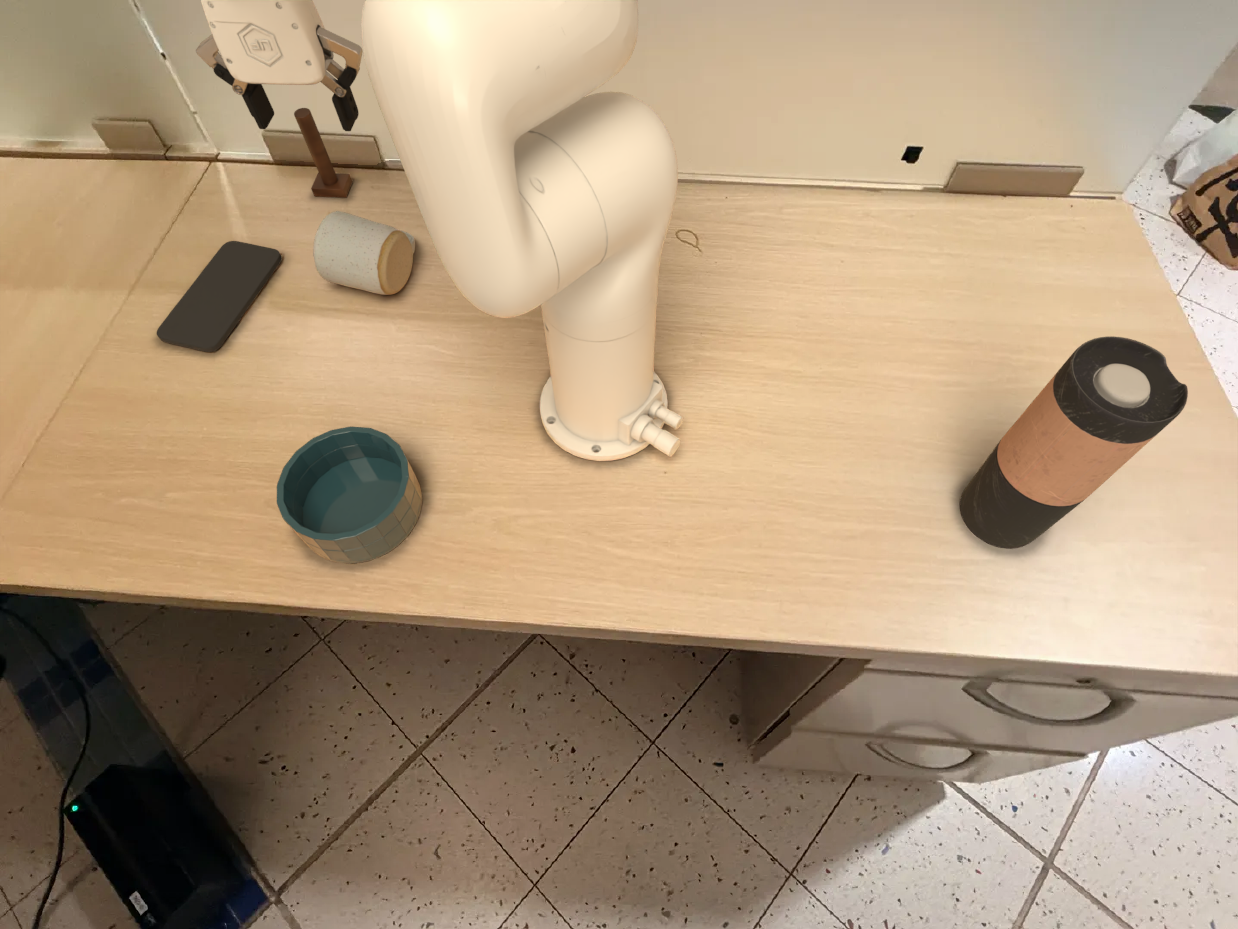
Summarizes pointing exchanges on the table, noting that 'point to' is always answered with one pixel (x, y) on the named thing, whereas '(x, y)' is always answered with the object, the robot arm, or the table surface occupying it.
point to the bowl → (350, 494)
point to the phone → (219, 296)
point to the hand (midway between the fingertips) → (309, 122)
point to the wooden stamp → (321, 160)
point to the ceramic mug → (363, 253)
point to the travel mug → (1072, 439)
